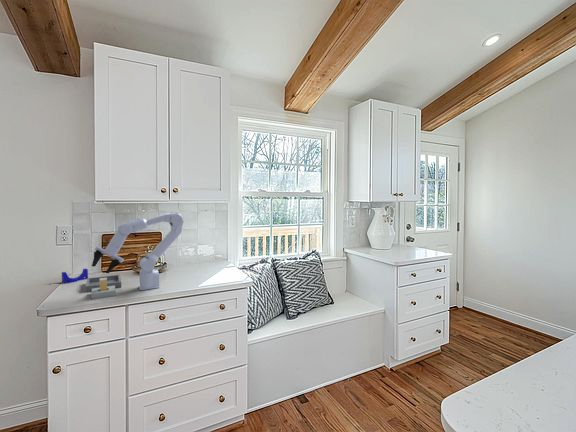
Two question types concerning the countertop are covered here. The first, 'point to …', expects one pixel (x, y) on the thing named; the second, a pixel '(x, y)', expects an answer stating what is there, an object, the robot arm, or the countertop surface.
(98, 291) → the fuse holder
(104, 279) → the fuse
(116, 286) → the tray
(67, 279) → the cable clip
